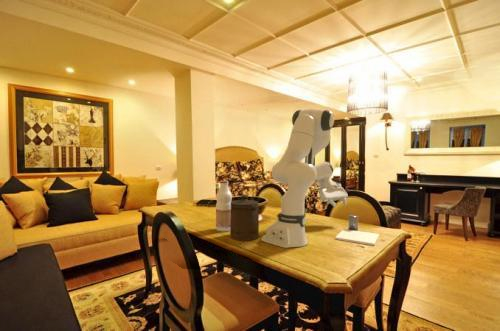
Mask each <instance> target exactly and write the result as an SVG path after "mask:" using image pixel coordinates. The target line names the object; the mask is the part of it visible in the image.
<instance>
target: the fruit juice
mask: <svg viewBox="0 0 500 331" xmlns="http://www.w3.org/2000/svg"><path fill="white" fill-rule="evenodd" d="M229 183H230V182H229V181H228V180H220V181H219V184H220V186H219V189H218V191H217V193H216V195H215V198H216V204H215V230H216V231H217V232H229V231H230V217H231V202H232V201H233V200H232V198H233V194H232V192H231V190H230V187H229Z"/></svg>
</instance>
